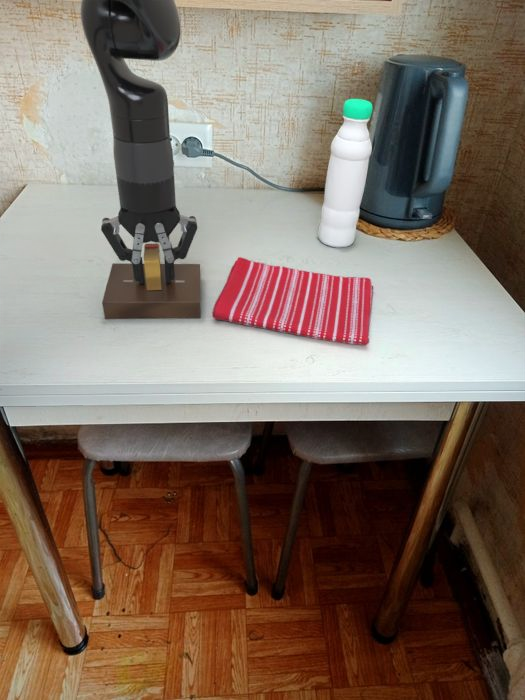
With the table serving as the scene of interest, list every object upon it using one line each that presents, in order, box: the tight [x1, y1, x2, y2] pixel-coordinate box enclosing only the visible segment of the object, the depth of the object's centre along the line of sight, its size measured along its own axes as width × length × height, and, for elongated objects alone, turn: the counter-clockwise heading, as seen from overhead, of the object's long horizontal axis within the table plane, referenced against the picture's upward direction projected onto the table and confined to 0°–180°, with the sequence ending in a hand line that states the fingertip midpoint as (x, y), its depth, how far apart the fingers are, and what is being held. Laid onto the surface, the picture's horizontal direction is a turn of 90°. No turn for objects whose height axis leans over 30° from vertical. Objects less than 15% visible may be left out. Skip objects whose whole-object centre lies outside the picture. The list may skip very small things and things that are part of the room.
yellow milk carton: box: [143, 242, 162, 290], centre depth 76 cm, size 5×2×5 cm, turn 10°
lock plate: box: [101, 262, 202, 320], centre depth 79 cm, size 14×11×3 cm
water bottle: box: [317, 98, 373, 249], centre depth 91 cm, size 7×7×25 cm
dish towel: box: [211, 256, 374, 346], centre depth 80 cm, size 17×24×3 cm
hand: (155, 280), depth 78 cm, fingers open, 3 cm apart
